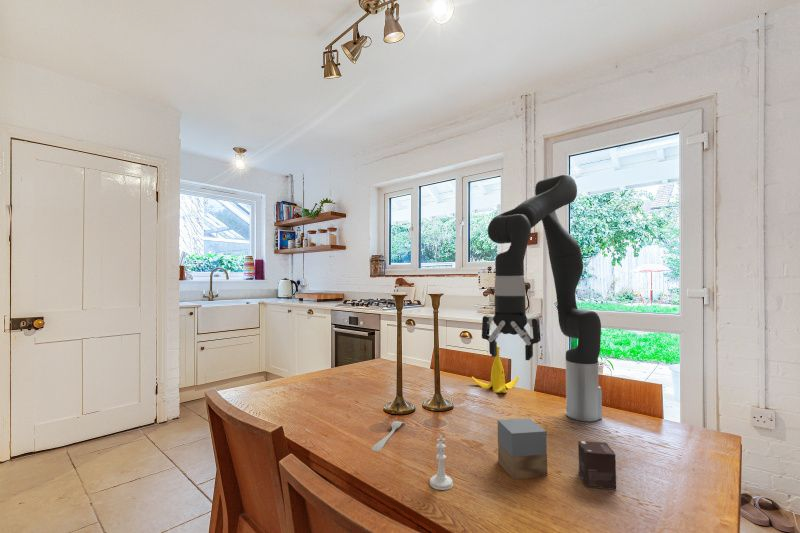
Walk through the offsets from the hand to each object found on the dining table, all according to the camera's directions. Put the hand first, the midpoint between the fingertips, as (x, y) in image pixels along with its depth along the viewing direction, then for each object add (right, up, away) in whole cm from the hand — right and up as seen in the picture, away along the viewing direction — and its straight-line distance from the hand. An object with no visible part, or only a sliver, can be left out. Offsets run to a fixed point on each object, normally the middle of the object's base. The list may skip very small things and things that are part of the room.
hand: (510, 358), depth 98 cm
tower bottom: (0, -23, -9) cm, 25 cm away
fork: (-31, -24, +10) cm, 40 cm away
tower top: (0, -18, -9) cm, 21 cm away
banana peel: (+8, -25, +55) cm, 61 cm away
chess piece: (-19, -23, -16) cm, 34 cm away
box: (+14, -23, -15) cm, 31 cm away
